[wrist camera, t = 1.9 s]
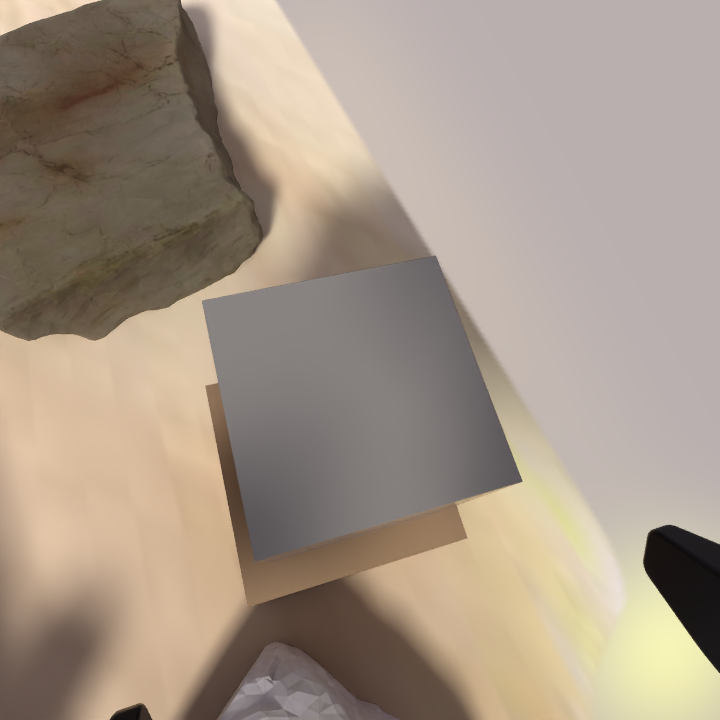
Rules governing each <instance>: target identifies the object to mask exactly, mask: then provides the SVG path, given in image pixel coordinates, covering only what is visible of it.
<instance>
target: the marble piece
mask: <svg viewBox="0 0 720 720" xmlns="http://www.w3.org/2000/svg"><path fill="white" fill-rule="evenodd" d="M216 120H217V109H216V106H215V103H214V96H213V91H212V82H211V77H210V72H209V69H208V66H207V62H206V59H205V56H204V54H203V51H202V49H201V45H200V42H199V40H198V37H197V33H196V30H195V28H194V25H193V23H192V21H191V20H190V18H189V17H188V15H187V13H186V11H185V10H184V9H183V8H182V5H181V0H101V1H97V2H93V3H90V4H86V5H83V6H81V7H79V8H77V9H75V10H72V11H69V12H65V13H62V14H59V15H56V16H52V17H49V18H46V19H42V20H39V21H35V22H32V23H29V24H27V25H24V26H22V27H20V28H18V29H16V30H13V31H11V32H8V33H5V34H3V35H1V36H0V330H1V331H3V332H5V333H8V334H10V335H12V336H15V337H18V338H21V339H24V340H27V341H30V340H36V339H38V338H40V337H43V336H47V335H52V334H74V335H79V336H82V337H85V338H87V339H90V340H94V341H95V340H98V339H101V338H103V337H105V336H107V335H108V334H109V333H110V332H111V331H112V330H114V329H115V328H116V327H117V326H118V325H119V324H121V323H122V322H123V321H125V320H126V319H127V318H129V317H132V316H134V315H137V314H139V313H141V312H144V311H147V310H158V309H163V308H167V307H169V306H171V305H172V304H174V303H175V302H176V301H178V300H180V299H183V298H185V297H187V296H189V295H191V294H193V293H195V292H197V291H199V290H201V289H204V288H206V287H208V286H209V285H211V284H213V283H214V282H217V281H219V280H221V279H222V278H224V277H226V276H228V275H231V274H233V273H234V272H235V271H236V270H237V268H238V267H239V266H240V264H241V263H242V262H244V261H245V260H247V259H248V258H250V257H251V255H252V252H253V250H254V249H255V247H256V246H257V245H258V244H259V243H260V241H261V240H262V237H263V233H262V228H261V225H260V224H259V222H258V218H257V216H256V214H255V210H254V202H253V200H252V199H251V198H249V197H248V196H247V195H246V194H245V193H244V192H243V191H241V188H240V185H239V183H238V182H237V180H236V178H235V176H234V174H233V166H232V161H231V159H230V157H229V154H228V152H227V150H226V149H225V147H224V145H223V143H222V140H221V137H220V135H219V130H218V127H217V121H216Z"/></svg>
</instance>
